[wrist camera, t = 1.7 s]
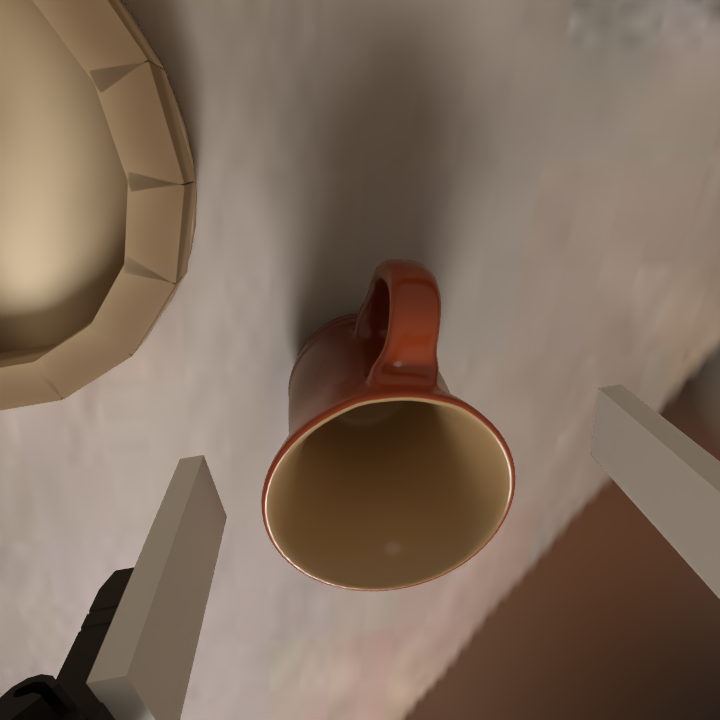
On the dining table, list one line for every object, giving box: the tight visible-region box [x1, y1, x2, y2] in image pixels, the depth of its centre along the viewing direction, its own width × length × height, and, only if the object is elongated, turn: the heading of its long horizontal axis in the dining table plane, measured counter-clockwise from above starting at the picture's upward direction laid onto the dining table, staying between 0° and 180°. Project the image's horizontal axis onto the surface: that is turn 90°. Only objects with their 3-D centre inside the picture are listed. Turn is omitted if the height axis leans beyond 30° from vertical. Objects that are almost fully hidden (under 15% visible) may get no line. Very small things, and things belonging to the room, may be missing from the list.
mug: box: [262, 259, 515, 591], centre depth 19 cm, size 12×9×10 cm
